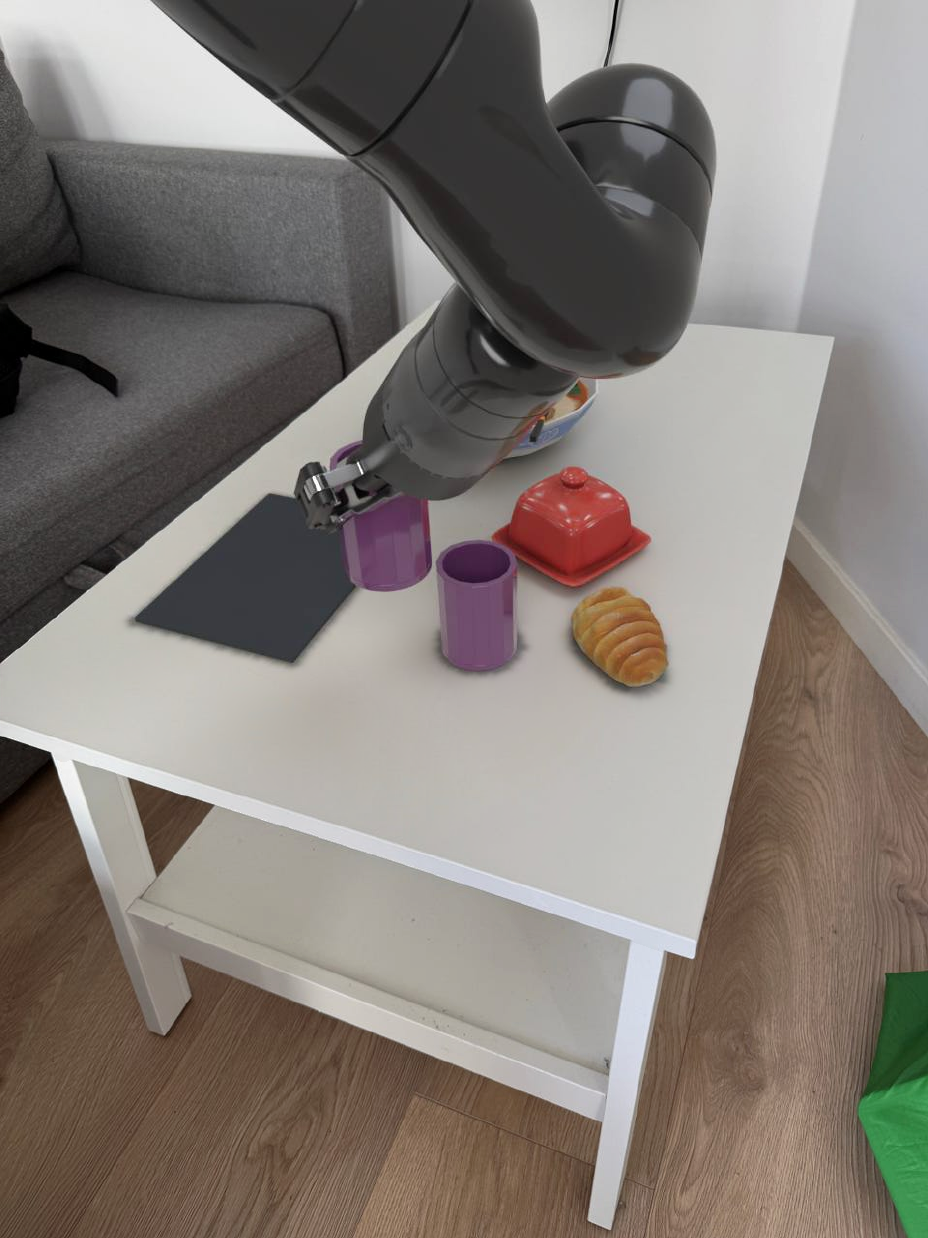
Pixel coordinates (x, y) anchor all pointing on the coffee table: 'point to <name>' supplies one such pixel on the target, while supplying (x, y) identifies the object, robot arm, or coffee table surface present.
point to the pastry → (620, 636)
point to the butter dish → (572, 527)
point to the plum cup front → (385, 540)
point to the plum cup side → (477, 604)
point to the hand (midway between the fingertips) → (371, 503)
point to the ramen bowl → (559, 418)
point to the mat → (259, 584)
